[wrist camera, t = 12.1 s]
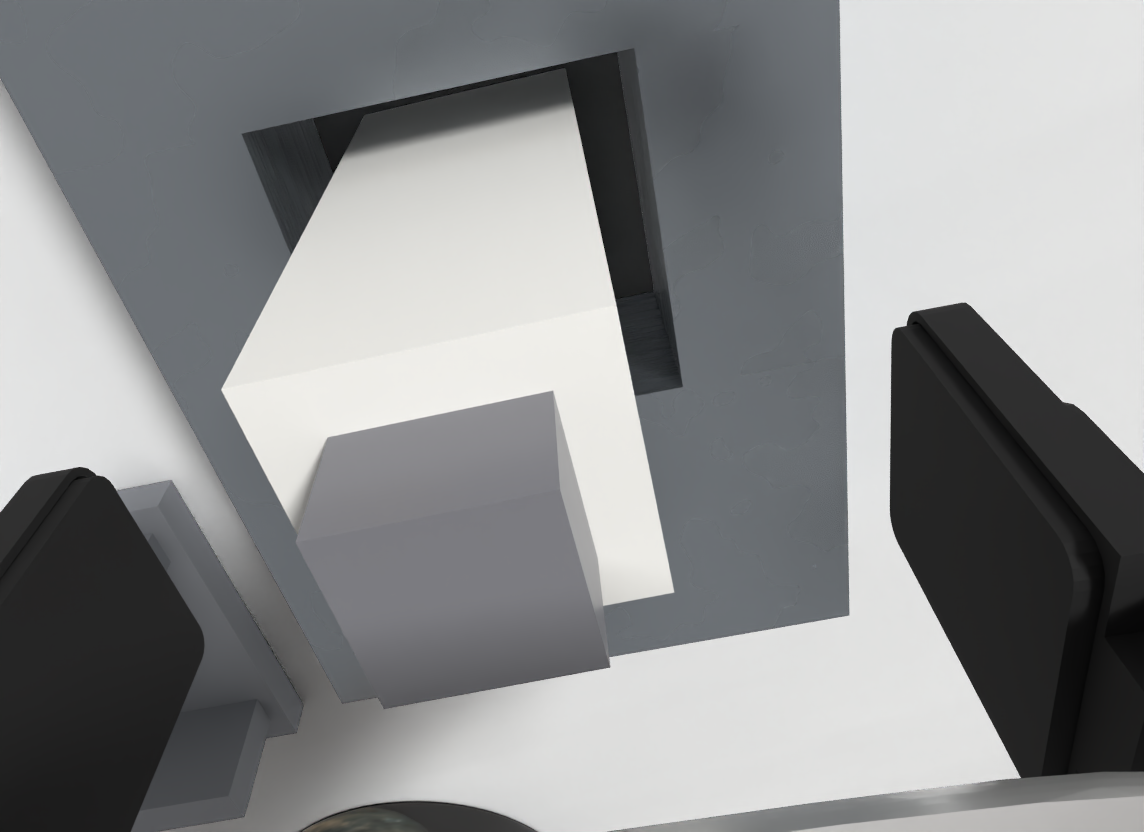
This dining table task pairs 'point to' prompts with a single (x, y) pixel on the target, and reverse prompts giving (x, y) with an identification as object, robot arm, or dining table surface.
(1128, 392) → the dining table surface
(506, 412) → the plug
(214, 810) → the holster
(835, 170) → the port block
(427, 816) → the jar
